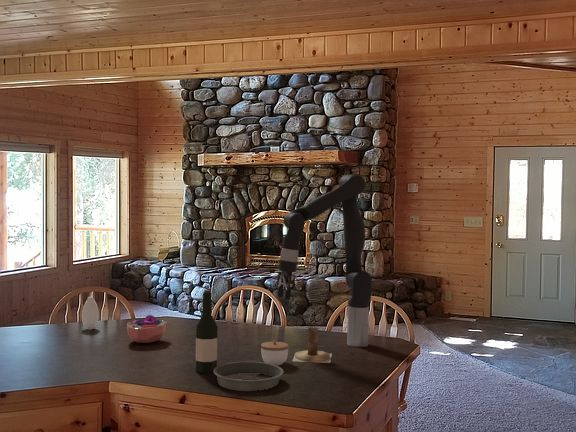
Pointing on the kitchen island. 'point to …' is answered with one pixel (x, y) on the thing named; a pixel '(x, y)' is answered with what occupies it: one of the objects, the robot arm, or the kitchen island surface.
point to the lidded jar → (274, 352)
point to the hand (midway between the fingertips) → (283, 298)
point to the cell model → (146, 329)
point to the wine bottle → (206, 338)
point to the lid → (312, 349)
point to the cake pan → (247, 368)
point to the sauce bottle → (90, 313)
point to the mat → (318, 362)
